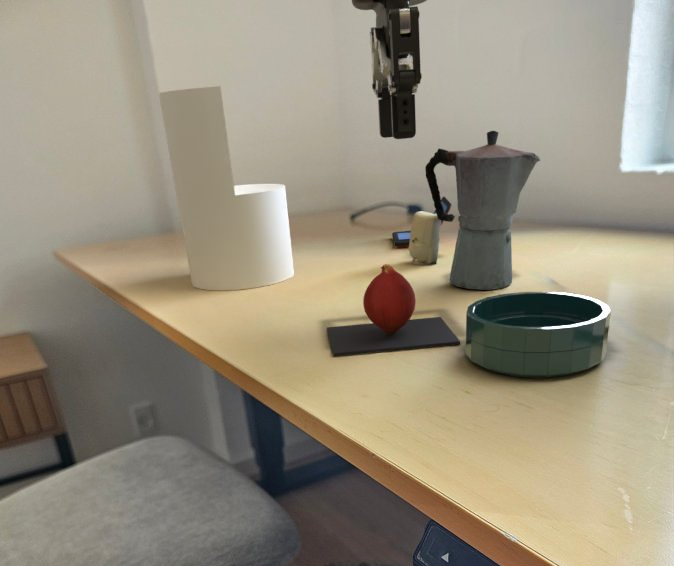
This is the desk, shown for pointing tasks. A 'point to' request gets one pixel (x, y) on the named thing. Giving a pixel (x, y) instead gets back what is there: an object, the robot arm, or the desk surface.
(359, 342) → the mat
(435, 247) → the cream rounded pillar
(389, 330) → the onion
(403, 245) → the handheld console
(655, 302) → the desk surface
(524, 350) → the bowl
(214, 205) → the white cylindrical chair
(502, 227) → the moka pot
